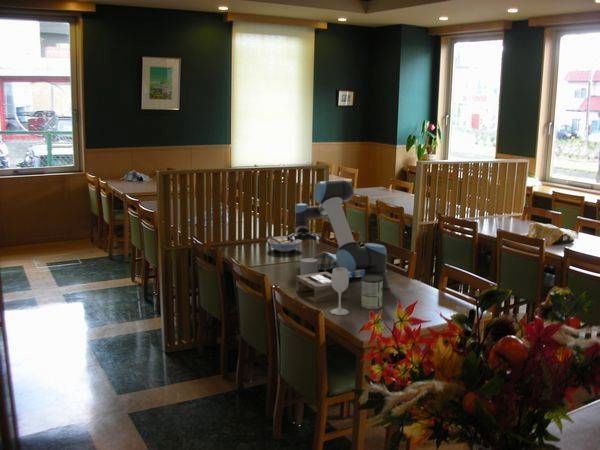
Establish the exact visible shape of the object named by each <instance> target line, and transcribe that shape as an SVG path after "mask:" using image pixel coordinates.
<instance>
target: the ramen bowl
mask: <svg viewBox="0 0 600 450" xmlns="http://www.w3.org/2000/svg"><path fill="white" fill-rule="evenodd" d="M287 236H288V235H287ZM287 236H284V235H283V236H274V237H273V236H271V235H267V236H266V238H268V239H267V242H268V244H269V245H270V247H271V248H272V249H273V250H276V251H278V252H281V253H289V252H291V251H293V250H296V249H297V248H298V247H299V246H300V244H301V243H302V240H300V239H299V240H298V239H297V240H295V244H293V241H292V242H290V241H287Z"/></svg>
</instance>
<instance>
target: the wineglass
mask: <svg viewBox="0 0 600 450" xmlns="http://www.w3.org/2000/svg"><path fill="white" fill-rule="evenodd" d="M331 274H332V277H331V284H332V287H333V289H334V290H335V291H337V292H338V294H339V299H338V307H337V308H333V309H331V310H330V311H329V312H330V314H332V315H334V314H335V315H336V316H345V315H348V314H349V313H350V312H349V310H348V309H345V308H342V302H341V301H342V298H341V293H342V292H343V291H345V290H346V289H347V287H348V288H349V282H350V279H349V278H350V277H349V271H347V269H346V268H342V267H339V266H338V267H334V268H332V273H331Z"/></svg>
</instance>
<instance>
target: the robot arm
mask: <svg viewBox="0 0 600 450" xmlns="http://www.w3.org/2000/svg"><path fill="white" fill-rule="evenodd" d="M313 195H314V196H313V197H314V200H315V202H316V203H317V204H318V205H313V206H311V205H310V206H308V205H309V204H307V203H297V204H295V206H294V207H295V208H294V216H295V217H294V219H295V220H294V232H292V233H291V234H289V235H287V241H290V242H292V241H293V244H295V240H297V239H298V240H299V239H300V240H302V241H303V242H304V241H307V240H314V241H316V244H318V245H319V244H320V242H321V241H323V235H320V234H318V233H316V232H313V233H310V230H309V229H308V221H309V220H312V219H324V218H329V221H330V225H331V227H332V230H333V234H334V236H335V239H336V241H337V244H338V248H337V251H336V255H335V257H336V259H335V260H336V264H337V266H338V267H342V268H346V269H347V271H348V272H350V273H351V272H356V271H362V270H363V274H362V276H365V275H378V276H381V277H383V283H382V291H386V290H388V289H389V288H390V283H389V279H388V276H387V255H388V253H387V247H386V246H385V245H383V244H379V243H375V242H373V243H372V242H368V243H367V242H366V243H364V246H363V247H361V246H360V244H359V242H358V241H355V239H354V236H353V233H352V230H351V228H350V225H349V223H348V220H347V218H346V215H345V211H344V209H343V207H342V204H345V203H348V202H349V201H351V199H352V198H353V197H354V195H355V191H354V187H353V185H352V184H351V183H350V182H349V181H347V180H341V179H340V180H329V181H328V180H327V181H326V180H323V181H318V182H317V183H316V185H315V186H314V190H313ZM302 241H301V242H302ZM360 288H361V289H362V279H361V278H360Z"/></svg>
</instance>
